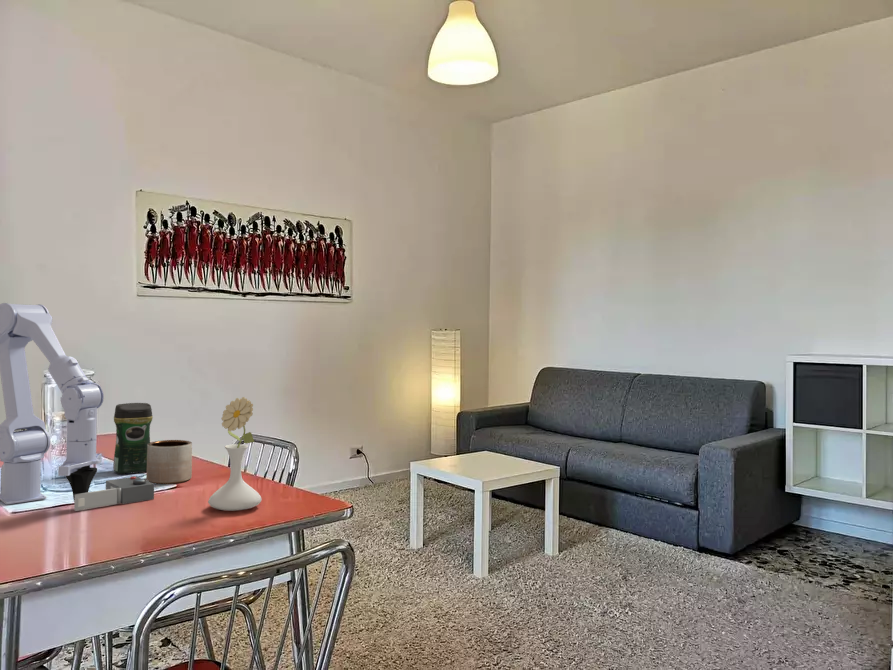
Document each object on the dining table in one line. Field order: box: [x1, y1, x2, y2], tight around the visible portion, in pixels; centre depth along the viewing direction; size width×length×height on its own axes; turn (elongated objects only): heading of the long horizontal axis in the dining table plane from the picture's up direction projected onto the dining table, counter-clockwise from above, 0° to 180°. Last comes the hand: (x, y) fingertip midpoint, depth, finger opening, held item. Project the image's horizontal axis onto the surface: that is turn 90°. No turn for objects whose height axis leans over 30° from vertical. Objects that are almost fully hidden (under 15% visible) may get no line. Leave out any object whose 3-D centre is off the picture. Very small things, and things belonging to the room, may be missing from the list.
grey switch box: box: [105, 476, 155, 505], centre depth 160 cm, size 10×7×4 cm
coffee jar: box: [112, 402, 154, 475], centre depth 187 cm, size 10×8×19 cm
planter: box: [146, 439, 193, 485], centre depth 178 cm, size 11×11×10 cm
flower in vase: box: [207, 396, 263, 512], centre depth 152 cm, size 13×11×25 cm
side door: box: [73, 488, 121, 512], centre depth 150 cm, size 10×1×3 cm, turn 137°
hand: (80, 502), depth 149 cm, fingers closed
